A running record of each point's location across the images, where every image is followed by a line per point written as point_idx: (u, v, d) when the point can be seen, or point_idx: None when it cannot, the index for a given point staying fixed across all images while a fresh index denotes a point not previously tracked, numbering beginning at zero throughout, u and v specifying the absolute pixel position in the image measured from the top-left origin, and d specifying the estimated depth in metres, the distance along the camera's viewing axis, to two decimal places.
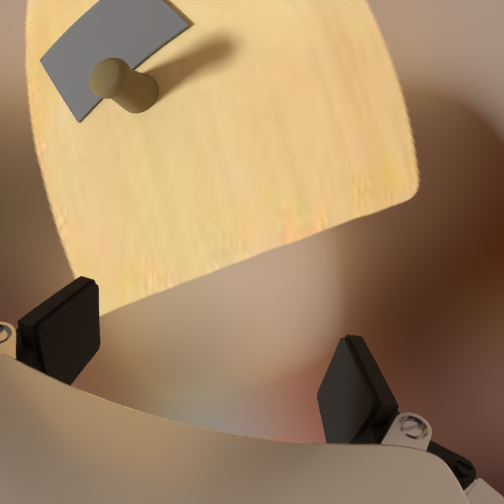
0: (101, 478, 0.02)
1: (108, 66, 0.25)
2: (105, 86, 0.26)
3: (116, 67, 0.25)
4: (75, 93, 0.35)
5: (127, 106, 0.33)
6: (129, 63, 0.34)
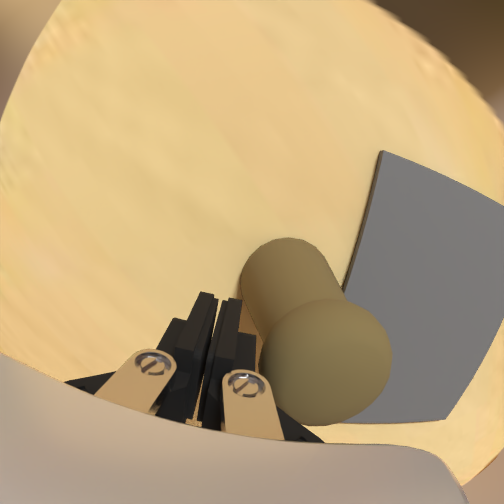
0: (101, 478, 0.02)
1: (338, 412, 0.09)
2: (304, 372, 0.09)
3: (310, 420, 0.09)
4: (432, 204, 0.17)
5: (270, 267, 0.16)
6: None
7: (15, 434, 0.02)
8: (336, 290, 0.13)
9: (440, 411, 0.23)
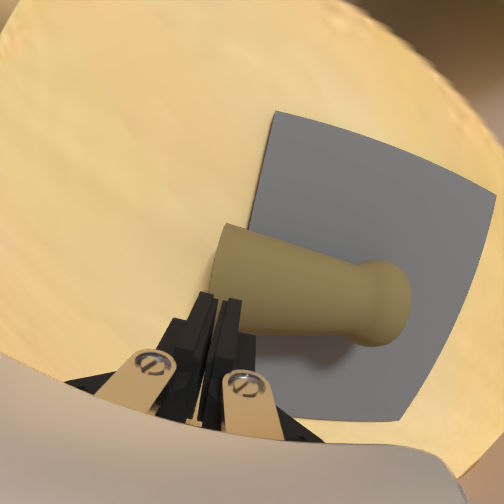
0: (101, 478, 0.02)
1: None
2: None
3: None
4: (342, 166, 0.17)
5: (285, 267, 0.14)
6: None
7: (15, 434, 0.02)
8: None
9: (390, 411, 0.22)
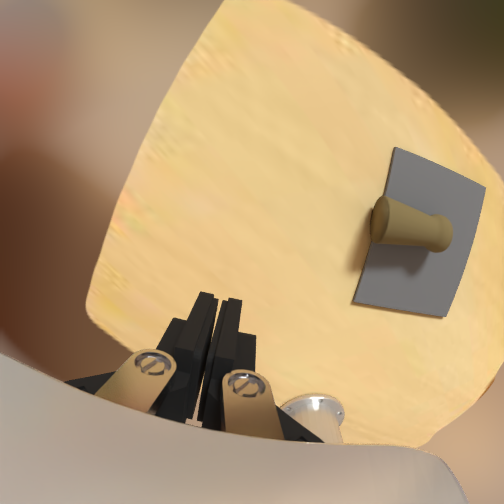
0: (101, 478, 0.02)
1: None
2: None
3: None
4: (420, 173, 0.34)
5: (410, 212, 0.32)
6: None
7: (15, 434, 0.02)
8: None
9: (441, 308, 0.40)
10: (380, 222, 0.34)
